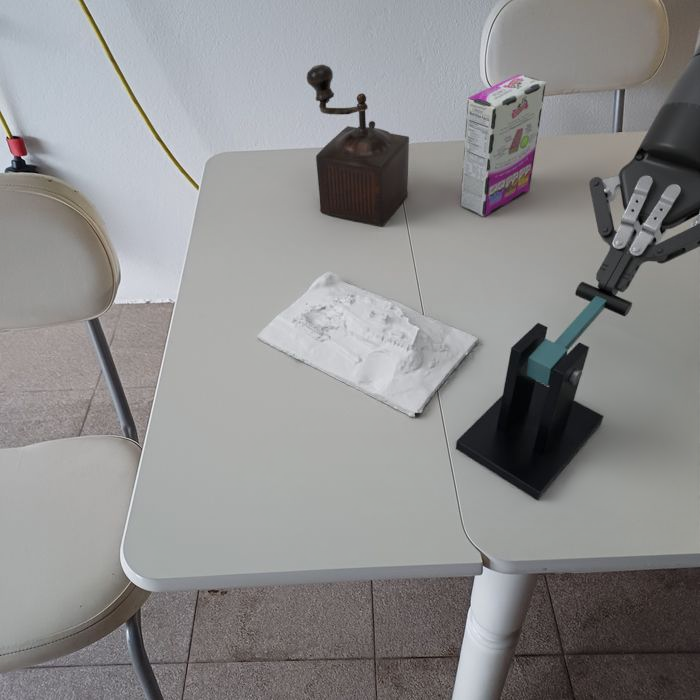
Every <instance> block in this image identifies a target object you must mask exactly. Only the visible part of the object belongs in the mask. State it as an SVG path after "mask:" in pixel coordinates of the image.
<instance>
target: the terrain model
mask: <svg viewBox="0 0 700 700" xmlns="http://www.w3.org/2000/svg"><path fill="white" fill-rule="evenodd" d="M257 337H258V339H259V340H261V341H262V342H264V343H265V344H267V345H269V346H270V347H272V348H274V349H276V350H278V351H280V352H282V353H285V354H287V355H288V356H291V357H292V358H294V359H296V360H298V361H300V362H302V363H304V364H306V365H309V366H311V367H313V368H314V369H316V370H318V371H320V372H322V373H324V374H326V375H328V376H330V377H332V378H334V379H337V380H338V381H340V382H342V383H344V384H346V385H348V386H350V387H352V388H354V389H356V390H358V391H360V392H362V393H364V394H366V395H368V396H369V397H372V398H374V399H375V400H377V401H380V402H382V403H383V404H385V405H388V406H389V407H391V408H394V409H395V410H398V411H400V412H402V413H403V414H405V415H407V416H408V417H411V418H415V417H416V415H415V414H418V413H419V414H421V413H424V412H423V411H424V408H425V406H427V404H428V403H429V401H431V398H432V397H434V396H435V393H437V391H438V390H439V388H440V387H442V385H443V384H444V383H445V381H446V380H448V378H449V377H450V376H451V374H452V373H453V372H454V371H455V370H456V369H457V367H458V366H459V365H460V364H461V362H462V361H463V360H464V359H465V358H466V357H467V355H468V354H469V353H470V352H471V351H472V350H473V348H474V347H475V346H477V344H478V341H479V338H477V336H474V335H472V334H470V333H469V332H466V331H463V330H460V329H458V328H456V327H453V326H449V325H448V324H445V323H444V322H441V321H440V320H437V319H434V318H432V317H431V316H429V317H428V316H427V315H424V314H422V313H420V312H418V311H416V310H414V309H413V308H410V307H408V306H406V305H404V304H402V303H400V302H398V301H395V300H392V299H390V298H388V297H385V296H383V295H380V294H376V293H373V292H371V291H368V290H365V289H362V288H360V287H358V286H356V285H353V284H350V283H347V282H346V281H344V280H343V279H342V277H340V276H339V275H337V274H336V273H335V272H332V271H326V272H325V273H323V274H322V275H320V276H319V277H318V278H316V279H315V280H314V281H313V282H312V284H311V285H310V286H309V288H308V289H307V291H306V292H305V293H304V294H303V295H301V296H300V297H299V298H297V299H296V300H295V301H294V302H293V303H292V304H291V305H290V306H289V307H287V308H285V309H284V310H283V311H281V312H280V313H279V314H278V315H277V316H275V317H274V318H273V320H272V321H270V322H269V323H268V324H267V325H266V326H265V327H264V328H263V329H262V330H261V331H260V332H259V333H258V334H257Z"/></svg>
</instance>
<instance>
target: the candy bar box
mask: <svg viewBox="0 0 700 700" xmlns="http://www.w3.org/2000/svg"><path fill="white" fill-rule="evenodd" d="M546 85H547V82H546V81H544V80H540V79H537V78H534V77H531V76H527V75H526V74H525V75H524V74H517V75H514V76H512V77H510V78H508V79H505V80H503V81H501V82H499V83H496V84H495V85H492V86H491V87H488V88H486V89H484V90H481V91H479V92H476V93H475V94H473V95H470V96H468V97H467V106H466V119H465V120H466V122H465V133H464V134H465V135H464V151H463V159H462V173H461V187H460V201H459V206H460V207H462V209H465V210H468V211H470V212H472V213H474V214H476V215H479V217H483V218H485V217H487V216H488V215H491V214H492V213H494V212H495V211H497V210H499V209H500V208H503V206H505V205H506V204H508V203H511V202H512V201H513V200H515V199H516V198H518V197H520V196H521V195H523V194H525V193H527V192H528V191H530V190H531V183H532V182H531V181H532V177H533V176H532V175H533V169H534V162H535V156H536V151H537V142H538V135H539V130H540V124H541V118H542V111H543V103H544V96H545V91H546Z"/></svg>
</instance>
